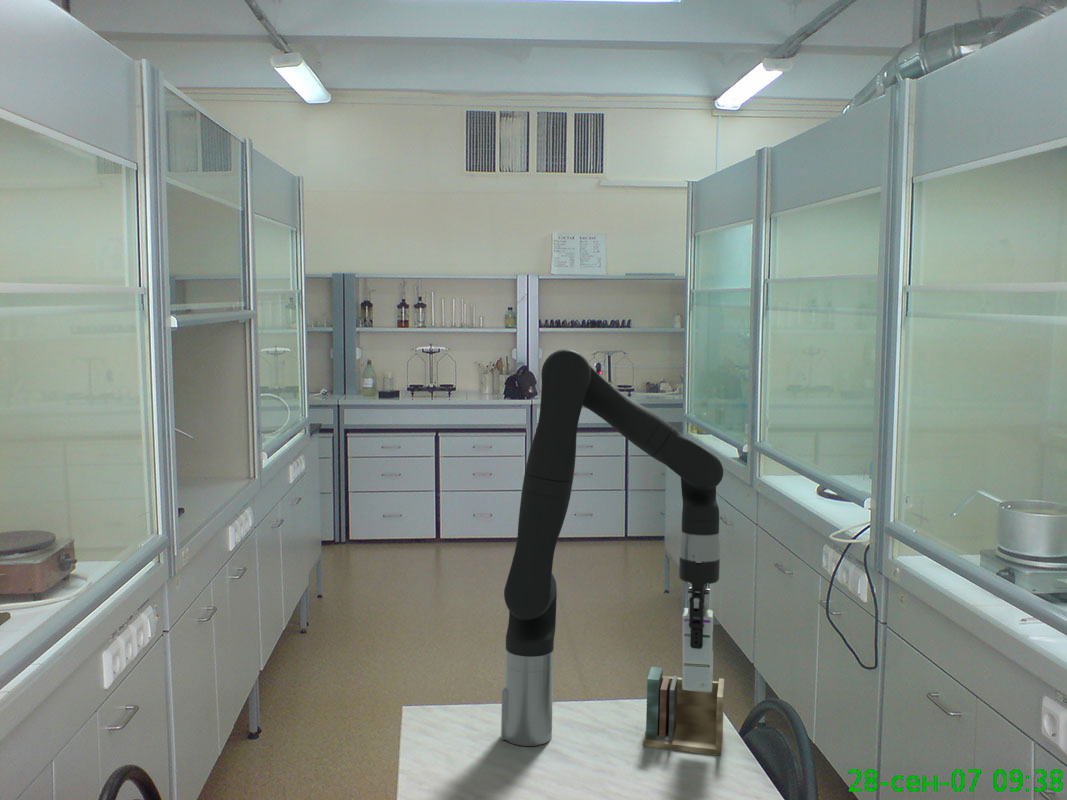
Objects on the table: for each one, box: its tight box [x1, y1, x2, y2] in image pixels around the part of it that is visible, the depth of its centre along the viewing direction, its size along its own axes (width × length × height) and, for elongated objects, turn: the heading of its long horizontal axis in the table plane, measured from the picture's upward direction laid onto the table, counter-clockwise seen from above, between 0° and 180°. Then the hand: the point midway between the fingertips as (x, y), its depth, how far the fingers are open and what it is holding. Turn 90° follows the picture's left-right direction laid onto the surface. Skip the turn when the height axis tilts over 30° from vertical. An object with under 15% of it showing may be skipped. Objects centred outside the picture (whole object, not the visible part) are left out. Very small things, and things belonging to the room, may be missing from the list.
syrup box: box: [681, 607, 714, 692], centre depth 173 cm, size 6×6×14 cm
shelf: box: [642, 666, 725, 756], centre depth 176 cm, size 14×11×12 cm
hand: (697, 642), depth 173 cm, fingers closed on syrup box, 5 cm apart
